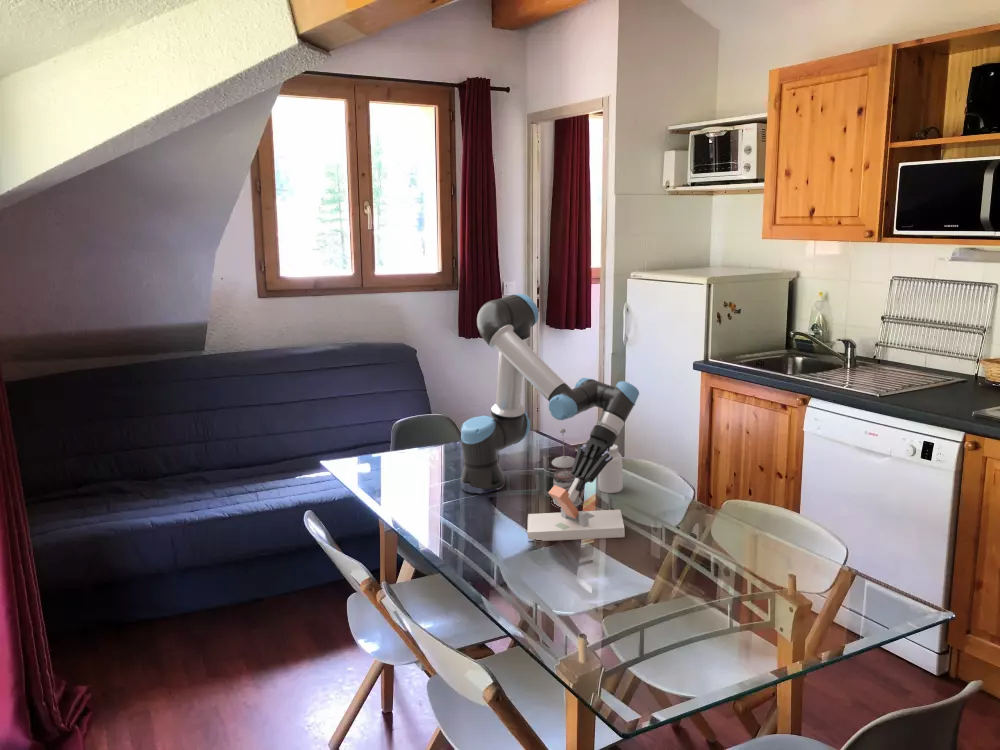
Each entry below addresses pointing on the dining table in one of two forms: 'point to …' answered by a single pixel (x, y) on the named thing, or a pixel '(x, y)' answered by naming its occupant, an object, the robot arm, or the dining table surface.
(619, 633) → the dining table surface
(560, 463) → the french press
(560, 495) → the lever
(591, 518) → the white switch base plate
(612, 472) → the pill bottle
